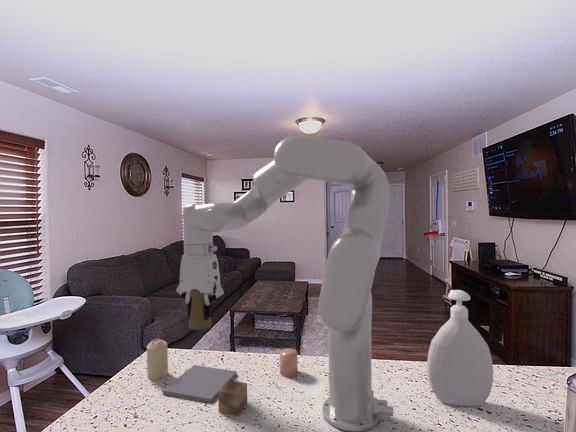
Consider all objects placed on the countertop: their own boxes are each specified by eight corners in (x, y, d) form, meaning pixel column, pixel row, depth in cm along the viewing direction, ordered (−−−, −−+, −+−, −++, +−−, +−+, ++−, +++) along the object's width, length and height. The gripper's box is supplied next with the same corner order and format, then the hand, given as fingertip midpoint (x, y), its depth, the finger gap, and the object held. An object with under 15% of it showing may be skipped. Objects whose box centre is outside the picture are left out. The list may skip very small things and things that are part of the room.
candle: (172, 373, 94) (171, 338, 94) (155, 381, 90) (154, 345, 89) (160, 368, 97) (159, 335, 97) (143, 376, 93) (142, 341, 92)
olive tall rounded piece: (205, 330, 84) (204, 288, 84) (184, 329, 85) (183, 287, 85) (215, 322, 90) (214, 282, 90) (195, 321, 91) (194, 282, 91)
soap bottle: (484, 393, 82) (484, 286, 81) (499, 413, 74) (498, 294, 73) (423, 388, 84) (422, 284, 84) (430, 407, 76) (429, 292, 76)
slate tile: (236, 374, 93) (236, 371, 93) (211, 403, 79) (211, 399, 79) (194, 368, 97) (193, 365, 97) (162, 394, 84) (162, 390, 83)
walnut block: (247, 403, 79) (247, 383, 79) (238, 416, 74) (237, 394, 74) (228, 400, 81) (228, 380, 81) (218, 412, 76) (218, 391, 76)
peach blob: (299, 369, 95) (299, 349, 95) (294, 378, 90) (294, 357, 90) (283, 367, 96) (282, 347, 96) (277, 376, 92) (277, 355, 92)
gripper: (233, 249, 88) (234, 316, 89) (180, 247, 93) (182, 311, 94) (219, 252, 81) (221, 325, 82) (163, 251, 86) (164, 319, 87)
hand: (200, 317), depth 88 cm, fingers closed on olive tall rounded piece, 4 cm apart
